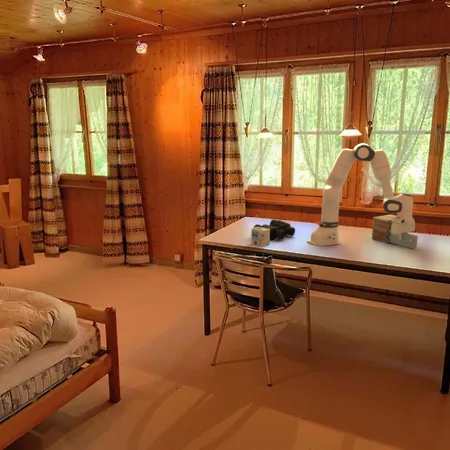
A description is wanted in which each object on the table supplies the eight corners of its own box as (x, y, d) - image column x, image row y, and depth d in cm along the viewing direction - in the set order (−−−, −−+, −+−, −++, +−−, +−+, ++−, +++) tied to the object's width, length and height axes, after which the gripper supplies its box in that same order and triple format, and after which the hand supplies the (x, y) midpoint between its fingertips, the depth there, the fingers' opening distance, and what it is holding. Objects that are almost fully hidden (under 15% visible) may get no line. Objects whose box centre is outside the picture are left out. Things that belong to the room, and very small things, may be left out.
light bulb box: (250, 244, 296) (251, 228, 294) (256, 241, 302) (256, 226, 299) (264, 246, 290) (265, 230, 288) (269, 244, 296) (270, 228, 293)
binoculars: (274, 229, 333) (275, 217, 330) (298, 236, 321) (299, 223, 318) (251, 237, 312) (252, 223, 309) (276, 244, 299) (277, 230, 297)
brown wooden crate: (388, 243, 296) (390, 221, 293) (370, 238, 309) (372, 217, 305) (407, 239, 307) (409, 218, 303) (389, 234, 319) (390, 214, 315)
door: (416, 248, 283) (417, 235, 281) (413, 248, 281) (414, 236, 279) (390, 241, 299) (391, 229, 298) (386, 241, 297) (387, 230, 296)
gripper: (410, 216, 295) (408, 236, 298) (390, 219, 284) (388, 240, 287) (418, 217, 289) (416, 238, 293) (398, 221, 279) (396, 242, 282)
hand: (402, 239), depth 290 cm, fingers closed on door, 2 cm apart
